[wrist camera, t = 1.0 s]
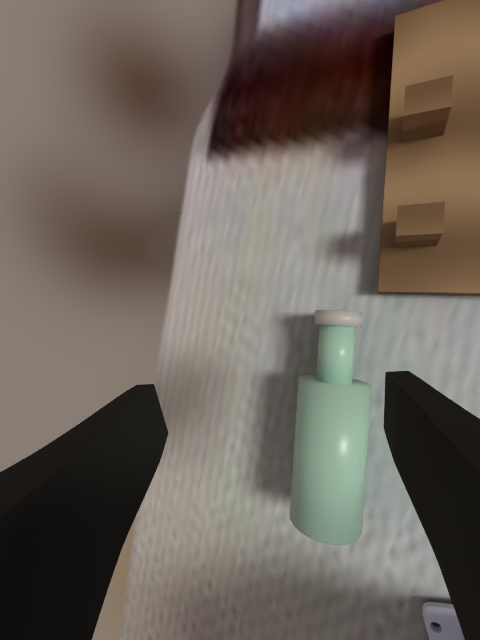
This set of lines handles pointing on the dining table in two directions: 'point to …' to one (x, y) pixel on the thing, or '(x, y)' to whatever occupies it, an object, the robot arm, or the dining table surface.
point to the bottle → (331, 437)
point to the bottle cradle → (433, 154)
